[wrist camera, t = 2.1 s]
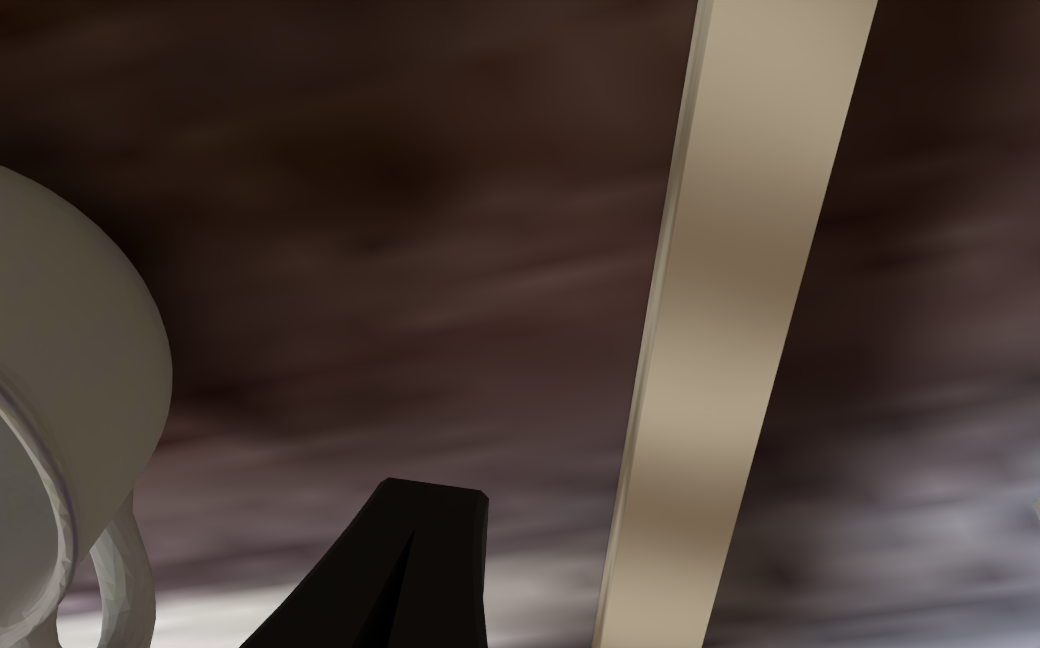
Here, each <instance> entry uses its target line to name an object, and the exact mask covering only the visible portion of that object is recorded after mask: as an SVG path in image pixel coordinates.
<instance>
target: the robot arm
mask: <svg viewBox="0 0 1040 648" xmlns="http://www.w3.org/2000/svg"><path fill="white" fill-rule="evenodd" d="M488 506H489V498H488V497H487V496H486V495H485V494H484V493H483V492H482V491H481V490H474V489H467V488H460V487H453V486H446V485H439V484H432V483H425V482H418V481H411V480H403V479H396V478H389V477H388V478H387V479H385V480H384V481H382V482H381V483H380V484H379V485H378V487H377V488H376V489H375V491H374V492H373V494H372V495H371V497H370V498H369V499H368V501H367V502H366V503H365V505H364V506H363V507H362V509H361V510H360V511H359V513H358V514H357V515H356V517H355V518H354V519H353V520H352V522H351V523H350V524H349V526H348V527H347V528H346V529H345V531H344V532H343V533H342V534H341V536H340V537H339V538H338V539H337V540H336V542H335V543H334V544H333V545H332V546H331V548H330V549H329V550H328V551H327V553H326V554H325V555H324V556H323V557H322V558H321V560H320V561H319V562H318V563H317V564H316V565H315V566H314V568H313V569H312V570H311V571H310V572H309V573H308V574H307V576H306V577H305V578H304V579H303V580H302V581H301V582H300V584H299V585H298V586H297V587H296V588H295V589H294V590H293V592H292V593H291V594H290V595H289V596H288V597H287V598H286V599H285V600H284V602H283V603H282V604H281V605H280V606H279V607H278V608H277V609H276V610H275V611H274V612H273V613H272V614H271V615H270V616H269V617H268V618H267V619H266V620H265V621H264V622H263V623H262V624H261V625H260V626H259V627H258V629H257V630H256V631H255V632H254V633H253V634H252V635H251V636H250V637H249V638H248V639H247V640H246V641H245V642H244V643H243V644H242V645H241V646H240V647H239V648H488V645H487V635H486V625H485V614H484V604H483V592H484V575H485V557H486V540H487V523H488Z"/></svg>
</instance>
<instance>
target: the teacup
mask: <svg viewBox="0 0 1040 648" xmlns="http://www.w3.org/2000/svg"><path fill="white" fill-rule="evenodd" d="M172 369H173V368H172V360H171V352H170V346H169V342H168V338H167V334H166V331H165V328H164V325H163V322H162V319H161V316H160V313H159V310H158V308H157V306H156V304H155V302H154V300H153V298H152V296H151V294H150V292H149V290H148V288H147V286H146V284H145V282H144V281H143V279H142V277H141V276H140V275H139V273H138V272H137V270H136V269H135V267H134V266H133V264H132V263H131V262H130V260H129V259H128V258H127V257H126V256H125V254H124V253H123V252H122V251H121V249H120V248H119V247H118V246H117V245H116V244H115V243H114V242H113V241H112V240H111V239H110V238H109V237H108V236H107V235H106V234H105V232H104V231H103V230H102V229H101V228H100V227H99V226H97V225H96V224H95V223H94V222H93V221H91V220H90V219H89V218H88V217H87V216H85V215H84V214H83V213H82V212H81V211H79V210H78V209H77V208H76V207H75V206H73V205H72V204H70V203H69V202H67V201H66V200H64V199H63V198H61V197H60V196H58V195H57V194H55V193H54V192H52V191H51V190H49V189H47V188H46V187H44V186H42V185H40V184H39V183H37V182H35V181H33V180H32V179H30V178H27V177H25V176H23V175H21V174H19V173H17V172H15V171H12V170H10V169H8V168H6V167H3V166H0V648H62V647H61V645H60V643H59V641H58V634H57V627H56V618H57V610H58V605H59V604H60V603H61V601H62V600H63V599H64V597H65V596H66V594H67V592H68V590H69V587H70V585H71V583H72V581H73V579H74V575H75V572H76V569H77V567H78V566H79V565H80V563H81V562H82V560H83V559H84V558H85V556H86V555H87V553H88V552H89V551H90V553H91V556H92V559H93V562H94V565H95V569H96V573H97V576H98V580H99V586H100V592H101V597H102V613H103V621H102V632H101V638H100V641H99V644H98V647H97V648H150V645H151V640H152V635H153V630H154V625H155V620H156V601H155V592H154V582H153V576H152V572H151V568H150V564H149V561H148V557H147V553H146V550H145V547H144V544H143V541H142V538H141V535H140V532H139V529H138V526H137V524H136V521H135V518H134V515H133V512H132V511H133V486H134V485H135V483H136V481H137V480H138V478H139V477H140V475H141V473H142V472H143V470H144V468H145V467H146V465H147V463H148V461H149V459H150V457H151V456H152V454H153V452H154V450H155V448H156V446H157V443H158V441H159V439H160V437H161V435H162V432H163V429H164V426H165V423H166V420H167V416H168V412H169V406H170V400H171V395H172Z"/></svg>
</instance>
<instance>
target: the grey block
mask: <svg viewBox="0 0 1040 648" xmlns="http://www.w3.org/2000/svg"><path fill="white" fill-rule="evenodd" d="M1032 506H1033V508H1034V510H1035V512H1036V514H1037V516H1038V518H1039V520H1040V499H1038V500H1037V501H1036V502H1034V503H1033V504H1032Z"/></svg>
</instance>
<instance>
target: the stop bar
mask: <svg viewBox="0 0 1040 648" xmlns="http://www.w3.org/2000/svg"><path fill="white" fill-rule="evenodd" d="M877 1H878V0H698V5H697V12H696V18H695V24H694V30H693V36H692V42H691V48H690V54H689V60H688V66H687V72H686V78H685V84H684V90H683V96H682V102H681V108H680V114H679V120H678V126H677V132H676V138H675V144H674V150H673V156H672V163H671V169H670V175H669V181H668V187H667V193H666V199H665V205H664V211H663V217H662V223H661V229H660V235H659V241H658V247H657V253H656V259H655V265H654V271H653V277H652V283H651V289H650V295H649V301H648V307H647V314H646V320H645V326H644V332H643V338H642V344H641V350H640V356H639V362H638V368H637V374H636V380H635V386H634V392H633V398H632V404H631V410H630V416H629V422H628V428H627V434H626V440H625V446H624V452H623V458H622V465H621V471H620V477H619V483H618V489H617V495H616V501H615V507H614V513H613V519H612V525H611V531H610V537H609V543H608V549H607V555H606V561H605V567H604V573H603V579H602V585H601V591H600V597H599V603H598V609H597V616H596V622H595V628H594V634H593V640H592V646H591V648H702V644H703V640H704V637H705V633H706V629H707V626H708V622H709V618H710V615H711V611H712V607H713V604H714V600H715V596H716V593H717V589H718V585H719V581H720V578H721V574H722V570H723V567H724V563H725V559H726V556H727V552H728V548H729V545H730V541H731V537H732V534H733V530H734V526H735V523H736V519H737V515H738V512H739V508H740V504H741V501H742V497H743V493H744V490H745V486H746V482H747V479H748V475H749V471H750V468H751V464H752V460H753V457H754V453H755V449H756V446H757V442H758V438H759V435H760V431H761V427H762V424H763V420H764V416H765V413H766V409H767V405H768V402H769V398H770V394H771V391H772V387H773V383H774V380H775V376H776V372H777V368H778V365H779V361H780V357H781V354H782V350H783V346H784V343H785V339H786V335H787V332H788V328H789V324H790V321H791V317H792V313H793V310H794V306H795V302H796V299H797V295H798V291H799V288H800V284H801V280H802V277H803V273H804V269H805V266H806V262H807V258H808V255H809V251H810V247H811V244H812V240H813V236H814V233H815V229H816V225H817V222H818V218H819V214H820V211H821V207H822V203H823V200H824V196H825V192H826V189H827V185H828V181H829V178H830V174H831V170H832V167H833V163H834V159H835V156H836V152H837V148H838V144H839V141H840V137H841V133H842V130H843V126H844V122H845V119H846V115H847V111H848V108H849V104H850V100H851V97H852V93H853V89H854V86H855V82H856V78H857V75H858V71H859V67H860V64H861V60H862V56H863V53H864V49H865V45H866V42H867V38H868V34H869V31H870V27H871V23H872V20H873V16H874V12H875V9H876V5H877Z"/></svg>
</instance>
